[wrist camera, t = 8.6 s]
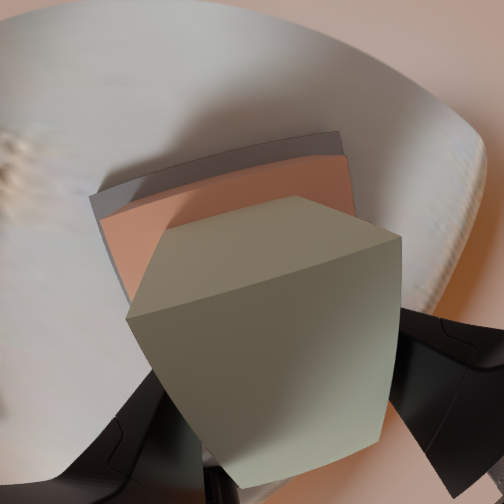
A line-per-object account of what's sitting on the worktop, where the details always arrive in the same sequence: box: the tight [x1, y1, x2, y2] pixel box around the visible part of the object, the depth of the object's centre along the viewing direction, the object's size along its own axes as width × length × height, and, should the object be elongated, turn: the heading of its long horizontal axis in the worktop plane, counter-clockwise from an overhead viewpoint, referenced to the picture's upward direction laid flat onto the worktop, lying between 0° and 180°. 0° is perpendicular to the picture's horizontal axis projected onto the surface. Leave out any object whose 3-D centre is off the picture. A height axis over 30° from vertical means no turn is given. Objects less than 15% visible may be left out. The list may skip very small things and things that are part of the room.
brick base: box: [89, 131, 355, 306], centre depth 13 cm, size 11×13×5 cm
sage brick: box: [126, 195, 402, 489], centre depth 8 cm, size 7×5×6 cm, turn 13°
